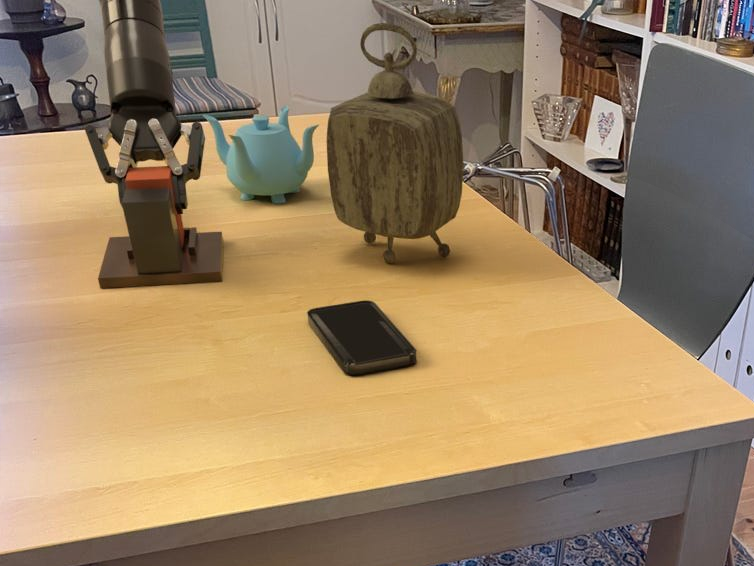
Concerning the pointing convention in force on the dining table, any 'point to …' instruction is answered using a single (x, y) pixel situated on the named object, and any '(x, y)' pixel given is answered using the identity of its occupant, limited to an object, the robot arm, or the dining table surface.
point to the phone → (361, 337)
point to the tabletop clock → (395, 157)
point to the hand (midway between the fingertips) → (155, 211)
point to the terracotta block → (154, 185)
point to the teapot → (265, 157)
